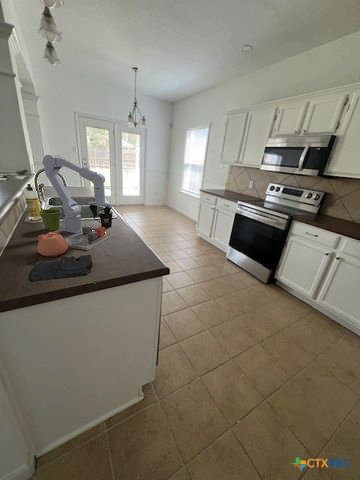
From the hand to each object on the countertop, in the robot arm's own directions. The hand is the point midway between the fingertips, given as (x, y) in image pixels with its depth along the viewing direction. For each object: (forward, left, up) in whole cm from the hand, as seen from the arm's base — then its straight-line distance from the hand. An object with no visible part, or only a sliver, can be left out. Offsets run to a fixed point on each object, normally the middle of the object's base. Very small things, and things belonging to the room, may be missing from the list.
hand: (101, 218), depth 123 cm
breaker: (-5, -8, -8) cm, 12 cm away
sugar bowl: (-4, -34, -10) cm, 36 cm away
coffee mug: (-6, +12, -10) cm, 16 cm away
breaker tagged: (+5, -15, -8) cm, 18 cm away
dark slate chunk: (+12, -45, -10) cm, 47 cm away
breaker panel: (0, -14, -9) cm, 17 cm away
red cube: (+5, -8, -8) cm, 12 cm away
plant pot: (-30, -7, -10) cm, 32 cm away
